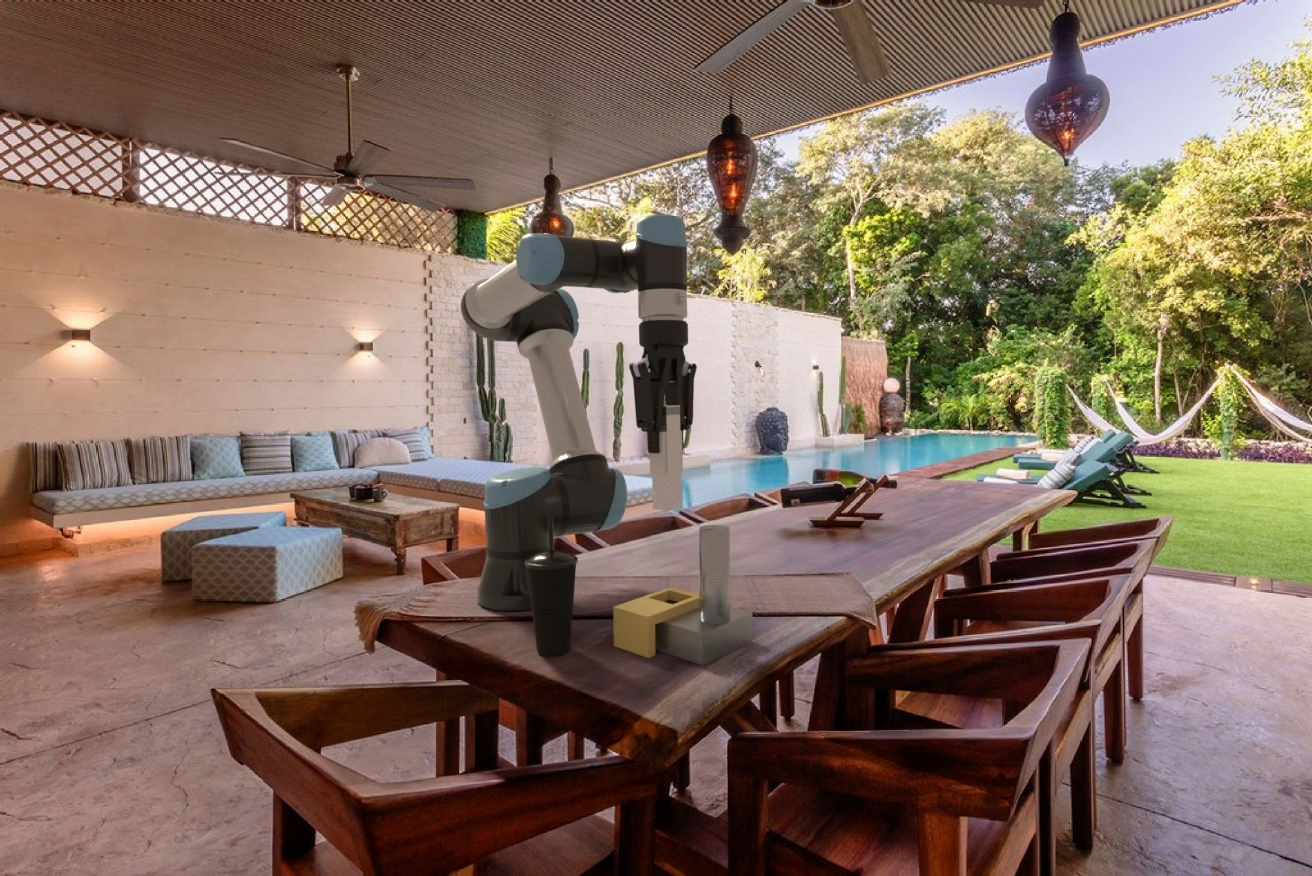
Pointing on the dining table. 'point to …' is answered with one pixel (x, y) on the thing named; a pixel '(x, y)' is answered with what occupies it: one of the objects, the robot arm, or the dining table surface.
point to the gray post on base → (708, 608)
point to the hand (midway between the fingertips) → (666, 472)
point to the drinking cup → (552, 597)
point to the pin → (669, 464)
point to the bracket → (648, 618)
